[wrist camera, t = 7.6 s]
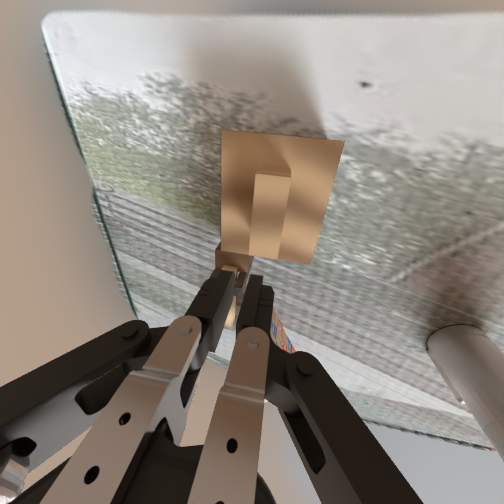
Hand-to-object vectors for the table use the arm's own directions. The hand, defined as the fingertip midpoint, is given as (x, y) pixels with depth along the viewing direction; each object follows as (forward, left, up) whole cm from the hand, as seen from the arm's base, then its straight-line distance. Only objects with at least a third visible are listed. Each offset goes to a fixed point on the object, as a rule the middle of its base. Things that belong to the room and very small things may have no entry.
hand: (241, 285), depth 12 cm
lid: (+1, -1, -16) cm, 16 cm away
